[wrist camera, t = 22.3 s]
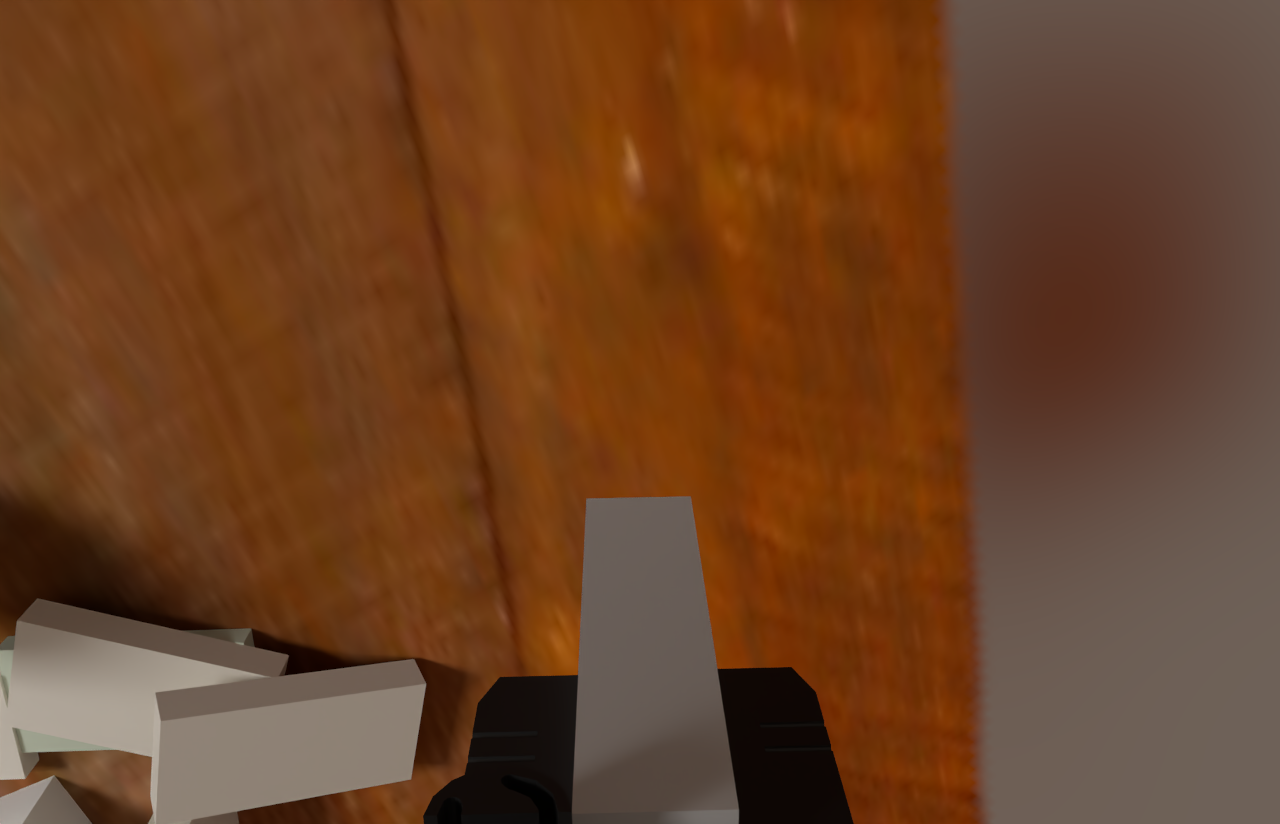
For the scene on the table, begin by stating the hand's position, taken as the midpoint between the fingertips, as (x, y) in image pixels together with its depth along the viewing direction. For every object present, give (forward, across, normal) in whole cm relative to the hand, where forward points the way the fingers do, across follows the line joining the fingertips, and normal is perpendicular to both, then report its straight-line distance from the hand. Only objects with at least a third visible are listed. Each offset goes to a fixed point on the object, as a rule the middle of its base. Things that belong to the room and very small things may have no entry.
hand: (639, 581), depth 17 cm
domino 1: (+33, -11, -26) cm, 44 cm away
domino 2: (+32, -18, -25) cm, 45 cm away
